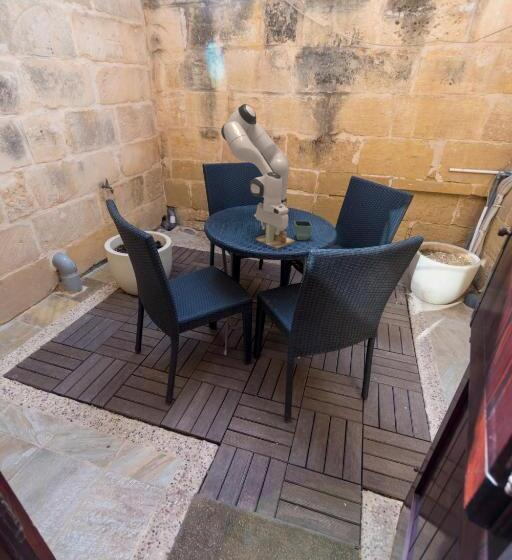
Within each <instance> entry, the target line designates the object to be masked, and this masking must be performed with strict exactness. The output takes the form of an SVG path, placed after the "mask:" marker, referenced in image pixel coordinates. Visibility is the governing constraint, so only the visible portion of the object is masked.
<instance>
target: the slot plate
mask: <svg viewBox="0 0 512 560" xmlns="http://www.w3.org/2000/svg"><path fill="white" fill-rule="evenodd" d="M266 225H267V226H266ZM266 225H265V226H266V242H268V243H269V242H272V241H274V233H275V231H277V230H278V229H277V227H275V226H272V225H270V224H268V223H266ZM281 230H283V231H285V229H281Z"/></svg>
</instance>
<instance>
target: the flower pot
mask: <svg viewBox="0 0 512 560" xmlns="http://www.w3.org/2000/svg"><path fill="white" fill-rule="evenodd" d="M312 229H313V225H312V223H311V222H310V221H309V220H294V221H293V230H294V231H293V232H294V235H295V237H296V240H297V241H307V240H308V239H309V237H310V235H311V233H312Z"/></svg>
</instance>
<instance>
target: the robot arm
mask: <svg viewBox="0 0 512 560" xmlns="http://www.w3.org/2000/svg"><path fill="white" fill-rule="evenodd" d="M220 134H221V136H222V138H223V139H224V140H225V141H226V144H227V146H228V148H229V150H230V151H231V153H232V155H233V157H234V158H235V159H237V160H239V161H243V162H247V163H251V164H253V165H254V166H255V167H256V168H258V170H259V172H260V173H261V175H262V176H258V177H254V178H253V179H252V180H251V181H250V182H249V190H250V193H251V194H252V195H253V196H254V197H258V198H263V202H259V203H258V204H257V208H256V211H255V212H256V213H254V214H253V217H255V219H256V220H257V221H259V222H260V224H261V227H262V228H261V230H264V231H265V230H266V224H267V223H268V224H270V225H272V226H275V227H277V229H278V230H277V231H275V232H274V233H275V235H279V232H280V230H281V229H284V230H285V229H287V228H288V226H289V214H288V213H289V208H288V207H287V201H288V200H287V194H288V193H287V191H288V183H289V182H288V180H289V172H290V171H289V170H290V163H289V162H290V161H289V158H288V156H287V155H285V154H286V153H284V152H283V150H281V149H280V147H279V146H278V145H277V144H276V143H275V142H274V141H273V139H272V138H271V137H270V136H269V134H268V133H267V131H265V129H264V127H262V126H261V125H260V123H258V122H257V115H256V111H255V110H254V108H253V107H252V106H251V105H249V104H246V103H243V104H241V105H240V106H239V107H238V108H237V109H236V110H235V111H234V112H233V113H232V114H231V115H230V116H229V118H228V119H227V120H226V121H225V123H224V124H223V125H222V127H221V129H220Z"/></svg>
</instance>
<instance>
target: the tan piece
mask: <svg viewBox="0 0 512 560" xmlns="http://www.w3.org/2000/svg"><path fill="white" fill-rule="evenodd" d="M265 226H267V224H265ZM287 236H288V232H287V231H285V230H284V231H283V230H280V232H279V235H275V232H274V241H272V242H269V243H268V242H266V230H264V235H260V236H258V237H256V238H255V240H256V241H258V242H260V243H262V244H265V245H267V246H269V247H271V248H274V249H276V250H278V249H280V248H284V247H286V246H288V245H291V244H293V243H295V240H294V239H292V238H291V237H290V238H289V237H287Z"/></svg>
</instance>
